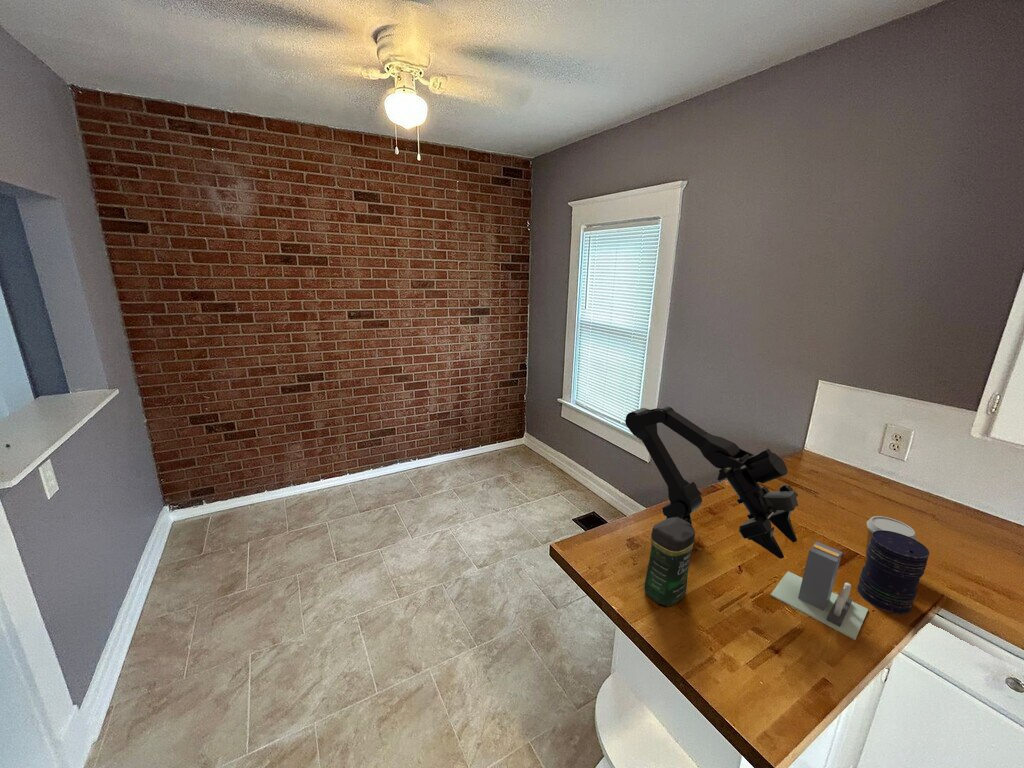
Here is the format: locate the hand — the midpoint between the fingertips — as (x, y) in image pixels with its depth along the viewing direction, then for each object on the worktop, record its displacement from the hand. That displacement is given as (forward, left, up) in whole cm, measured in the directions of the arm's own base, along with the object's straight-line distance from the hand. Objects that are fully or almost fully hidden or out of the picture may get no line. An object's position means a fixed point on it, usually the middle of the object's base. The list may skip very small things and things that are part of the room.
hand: (788, 549), depth 99 cm
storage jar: (+22, +2, -10) cm, 24 cm away
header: (+6, -4, -10) cm, 12 cm away
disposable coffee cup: (+27, +15, -10) cm, 33 cm away
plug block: (+6, -4, -9) cm, 12 cm away
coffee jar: (-27, -12, -10) cm, 31 cm away
